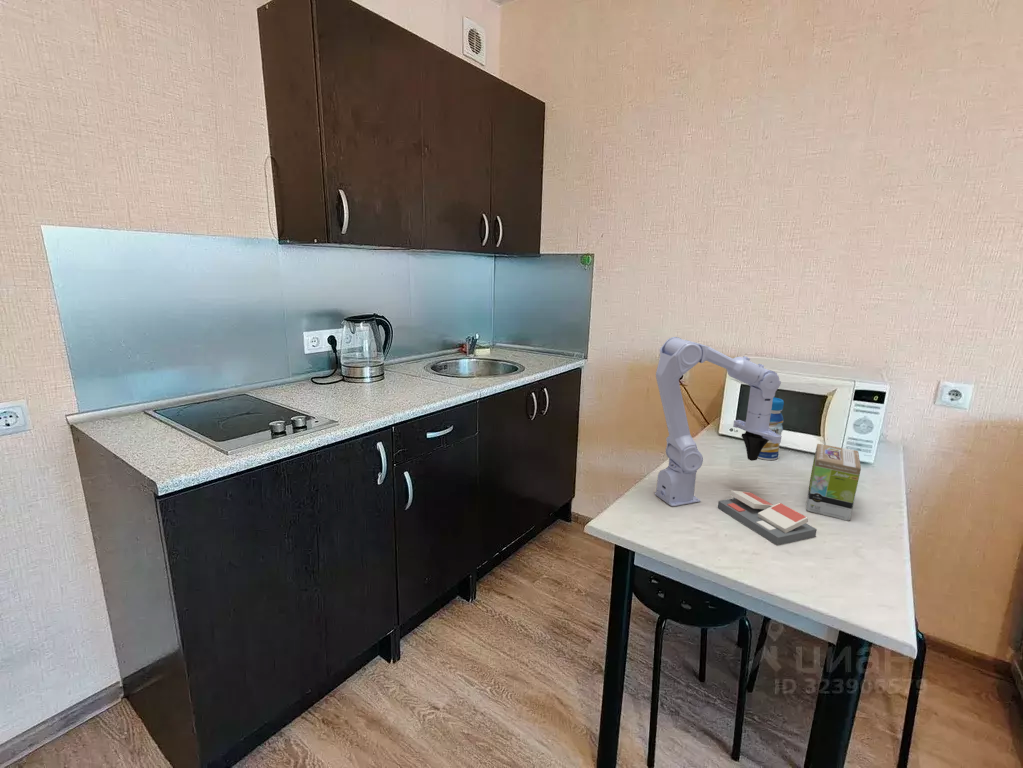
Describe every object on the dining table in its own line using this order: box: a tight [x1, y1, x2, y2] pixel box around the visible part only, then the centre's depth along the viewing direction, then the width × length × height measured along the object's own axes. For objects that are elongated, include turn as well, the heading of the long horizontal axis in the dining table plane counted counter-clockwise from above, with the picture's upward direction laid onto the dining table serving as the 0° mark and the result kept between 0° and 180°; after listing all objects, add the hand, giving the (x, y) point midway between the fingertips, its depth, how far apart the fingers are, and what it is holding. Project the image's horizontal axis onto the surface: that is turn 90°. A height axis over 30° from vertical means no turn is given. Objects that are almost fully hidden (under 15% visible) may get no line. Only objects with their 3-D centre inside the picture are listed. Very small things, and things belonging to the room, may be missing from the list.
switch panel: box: [717, 497, 818, 546], centre depth 125 cm, size 12×19×3 cm, turn 20°
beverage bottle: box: [757, 396, 785, 461], centre depth 166 cm, size 8×8×20 cm
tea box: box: [806, 443, 862, 522], centre depth 133 cm, size 15×10×15 cm
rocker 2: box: [758, 502, 809, 533], centre depth 120 cm, size 7×8×1 cm
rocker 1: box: [729, 490, 775, 509], centre depth 129 cm, size 7×8×1 cm
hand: (752, 459), depth 137 cm, fingers closed
